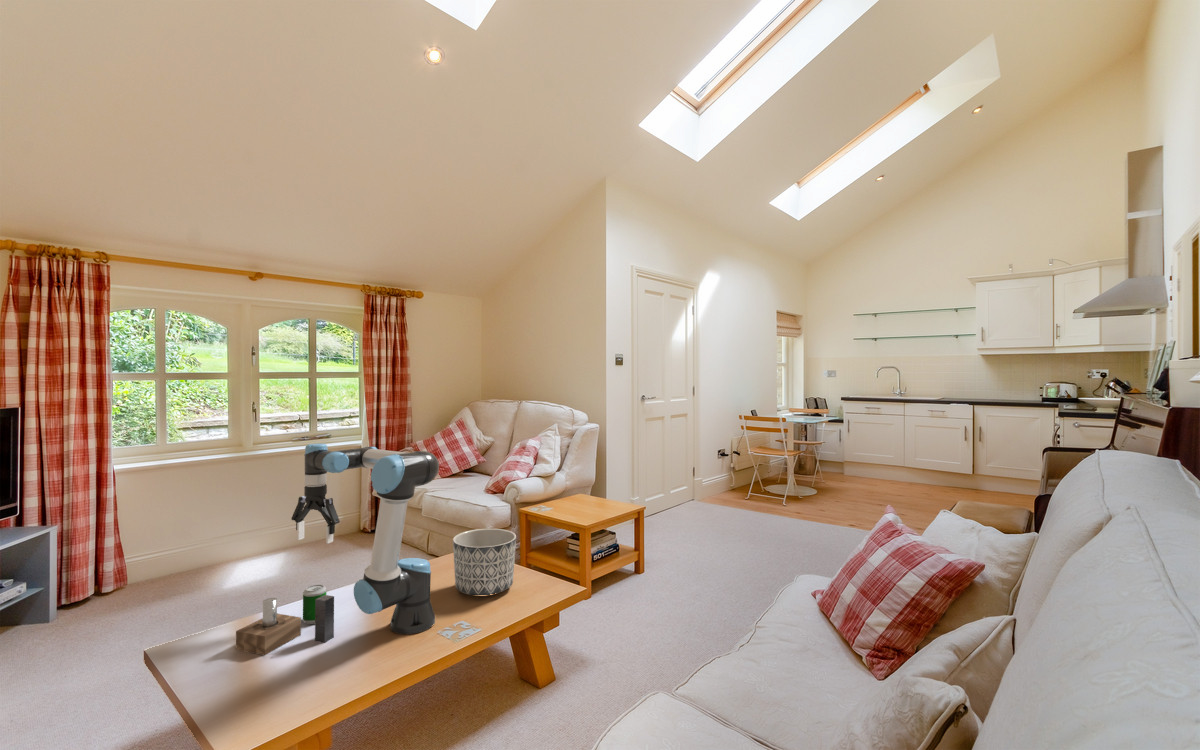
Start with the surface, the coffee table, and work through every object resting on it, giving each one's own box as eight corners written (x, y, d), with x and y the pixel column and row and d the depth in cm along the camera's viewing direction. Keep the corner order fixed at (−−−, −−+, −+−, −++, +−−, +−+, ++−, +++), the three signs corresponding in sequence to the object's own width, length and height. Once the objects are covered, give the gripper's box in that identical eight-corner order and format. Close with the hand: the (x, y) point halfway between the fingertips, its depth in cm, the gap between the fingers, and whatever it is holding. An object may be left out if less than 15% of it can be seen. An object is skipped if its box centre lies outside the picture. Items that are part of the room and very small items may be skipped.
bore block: (300, 634, 182) (300, 617, 182) (264, 655, 169) (264, 636, 169) (273, 629, 186) (273, 612, 186) (235, 649, 172) (236, 631, 172)
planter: (466, 576, 237) (467, 527, 238) (523, 579, 234) (523, 529, 234) (441, 600, 212) (442, 545, 212) (504, 604, 208) (505, 548, 208)
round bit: (279, 640, 179) (279, 598, 179) (268, 645, 175) (269, 603, 175) (269, 638, 180) (270, 597, 180) (259, 644, 176) (260, 601, 176)
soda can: (316, 626, 189) (316, 592, 189) (297, 624, 190) (298, 590, 190) (330, 617, 196) (331, 584, 196) (313, 615, 198) (313, 582, 198)
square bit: (333, 637, 181) (334, 596, 181) (324, 642, 177) (325, 601, 177) (324, 635, 182) (324, 594, 182) (314, 641, 178) (315, 599, 178)
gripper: (350, 485, 201) (349, 541, 201) (297, 480, 208) (297, 534, 208) (335, 488, 194) (334, 547, 194) (281, 484, 201) (280, 540, 201)
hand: (315, 540), depth 201 cm, fingers open, 13 cm apart
